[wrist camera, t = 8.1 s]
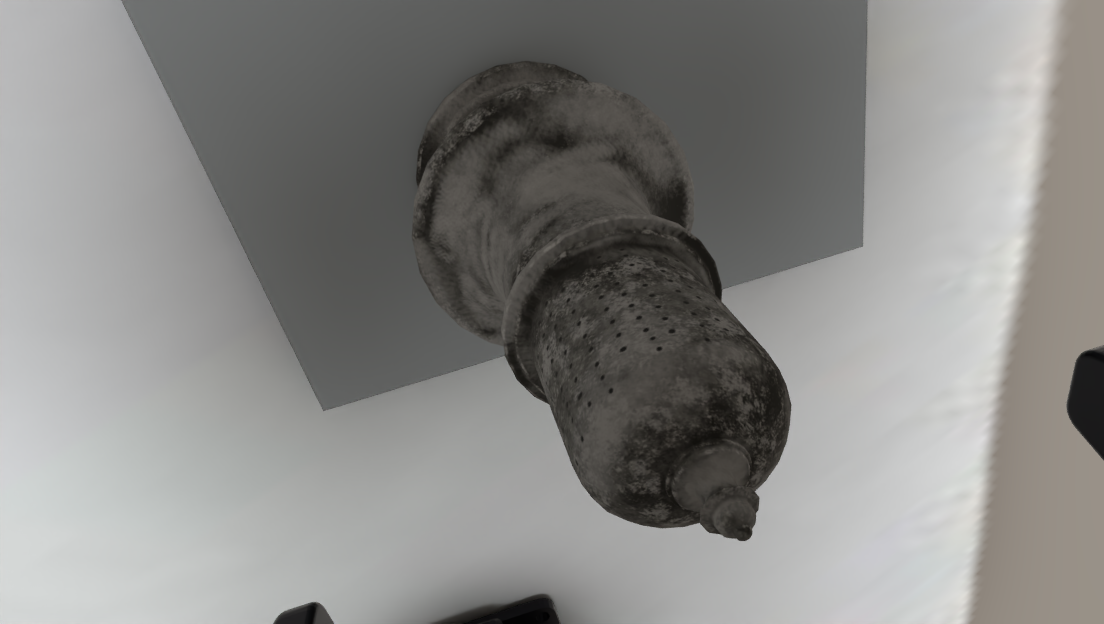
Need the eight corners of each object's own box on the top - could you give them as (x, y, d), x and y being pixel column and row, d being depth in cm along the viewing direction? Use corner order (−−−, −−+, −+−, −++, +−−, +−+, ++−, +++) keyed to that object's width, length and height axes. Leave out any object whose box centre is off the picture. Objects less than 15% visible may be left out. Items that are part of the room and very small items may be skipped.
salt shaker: (351, 136, 16) (333, 519, 6) (574, -6, 16) (947, 154, 6) (485, 319, 19) (620, 777, 9) (675, 205, 19) (1035, 551, 9)
